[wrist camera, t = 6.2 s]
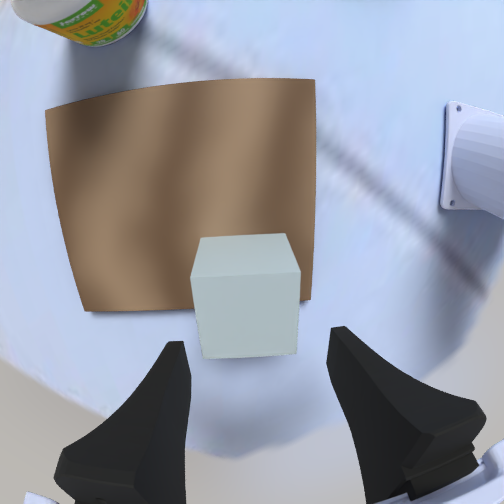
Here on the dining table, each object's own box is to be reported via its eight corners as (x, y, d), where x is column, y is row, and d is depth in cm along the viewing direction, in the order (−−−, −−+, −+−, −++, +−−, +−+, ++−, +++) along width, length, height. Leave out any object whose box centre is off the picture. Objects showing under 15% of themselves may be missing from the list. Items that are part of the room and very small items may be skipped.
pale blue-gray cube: (285, 233, 19) (300, 271, 14) (284, 303, 21) (296, 354, 16) (201, 237, 19) (190, 277, 14) (208, 307, 21) (203, 359, 16)
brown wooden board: (310, 81, 16) (315, 79, 15) (307, 292, 22) (310, 299, 21) (52, 109, 15) (45, 110, 14) (89, 304, 21) (84, 311, 20)
